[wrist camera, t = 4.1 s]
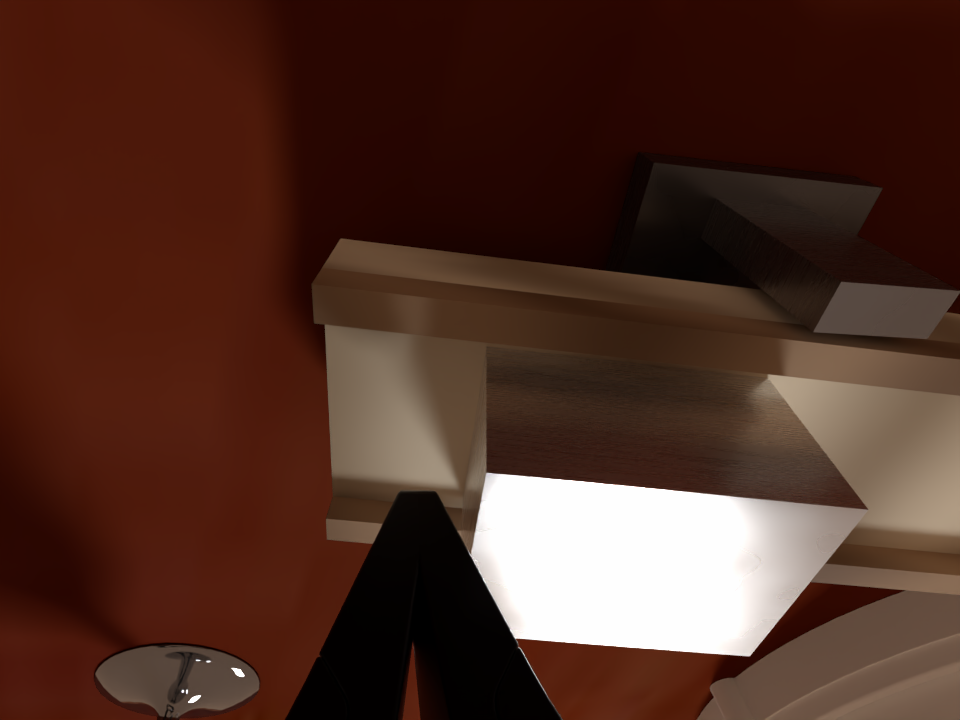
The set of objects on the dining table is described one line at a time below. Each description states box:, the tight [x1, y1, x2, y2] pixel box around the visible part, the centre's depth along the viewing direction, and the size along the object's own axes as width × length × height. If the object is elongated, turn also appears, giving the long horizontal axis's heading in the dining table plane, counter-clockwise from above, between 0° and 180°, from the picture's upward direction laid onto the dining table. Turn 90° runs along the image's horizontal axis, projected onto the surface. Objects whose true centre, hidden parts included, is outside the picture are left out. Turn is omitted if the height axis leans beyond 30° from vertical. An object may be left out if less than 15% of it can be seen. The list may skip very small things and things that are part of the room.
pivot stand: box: [605, 152, 960, 339], centre depth 14 cm, size 6×11×6 cm, turn 173°
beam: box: [312, 239, 960, 595], centre depth 13 cm, size 24×7×3 cm, turn 83°
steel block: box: [461, 346, 868, 656], centre depth 11 cm, size 6×4×4 cm
